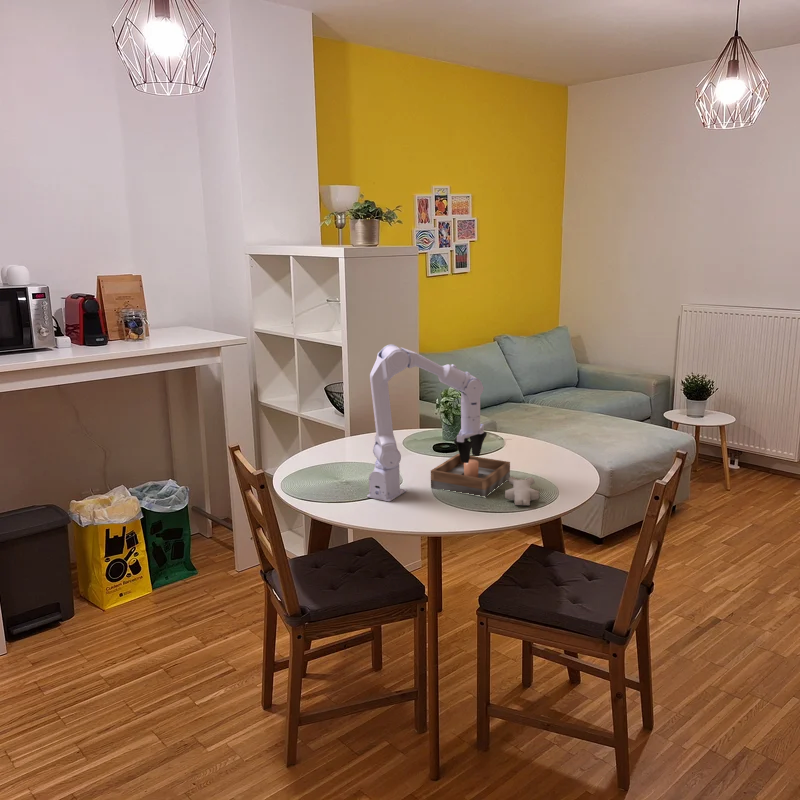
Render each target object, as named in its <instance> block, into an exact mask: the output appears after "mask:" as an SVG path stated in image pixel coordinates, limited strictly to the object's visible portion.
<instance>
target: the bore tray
mask: <svg viewBox="0 0 800 800" xmlns="http://www.w3.org/2000/svg"><path fill="white" fill-rule="evenodd" d="M470 459H473V460H477V461H478V478H477V477H472V476H466V475H464V463H463V462H461V458H460V454H459V453H457V454H455V455H453V456H451V457H450V458H449V459H446V460H445V461H444V462H442V463H441V464H439V465H437V466H436V467H434V468H432V469H431V470H430V489H434V490H439V489H444V490H443V491H445V490H450V491H456V492H462V493H469V494H474V495H480V496H485V497H486V496H487V495H488V494H489V493H490V492H492V491H493V490H494V489H496V488H497V487H498V486H500V485H501V484H502V483H504V482H505V481H506V480H508V479H509V477H511V461H508V460H507V461H506V460H501V459H493V458H487V457H480V456H476V455H470ZM505 483H506V482H505ZM505 483H504V484H505ZM501 486H502V485H501ZM501 486H500V487H501ZM496 490H497V489H496ZM450 491H449V492H450ZM487 497H488V496H487ZM487 497H486V498H487Z"/></svg>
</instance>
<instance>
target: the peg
mask: <svg viewBox="0 0 800 800" xmlns="http://www.w3.org/2000/svg"><path fill="white" fill-rule="evenodd" d="M464 475H466V476H472V477H477V478H478V461H477V460H473V459H469V463H464Z"/></svg>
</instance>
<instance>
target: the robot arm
mask: <svg viewBox="0 0 800 800" xmlns="http://www.w3.org/2000/svg"><path fill="white" fill-rule="evenodd" d="M457 367H458V366H457V365H455V364H453V363H451V364H448V363H447V364H445V365H440V364H439V363H437V362H435V361H433V360H431V359H429V358H427V357H425V356H423V355H421V354H419V353H418V352H416V351H413V350H410V349H407V348H405V347H399V346H398V345H396V344H393V343H390V344H387V345H385V346H384V347H382V348H381V350H380V351H378V352H377V356H376V360H375V362H374V364H373V365H372V369H371V371H370V373H369V381H370V389H371V390H370V391H371V398H372V407H373V416H374V424H375V436H374V444H373V446H372V447H373V449H372V453H373V456H374V457H375V458H376V459H375V462H374V469H373V470H372V472H370V474H369V477H368V484H369V485H368V486H369V491H368V492H369V493H368V494H367V496H366V497H367V498H371V499H375V500H380V501H385V502H391V501H393V500H394V499H396V498H398V497H399V496H401V495H402V494H404V493H405V492H407V490H406V489H405V488H401V477H400V471H401V470H400V463H401V460H402V455H401V452H400V451H399V449H398V445H397V441H396V438H395V436H394V435H395V434H394V429H393V428H394V427H393V417H392V409H391V401H390V400H391V399H390V389H389V381H390V380H391V379H392V378H393V377H394V376H396V375H397V374H399V373H401V372H402V371H405V369H406V368H409V369H412V368H419V369H422V370H424V371H425V372H429V373H431V374H433V375H435V376H437V378H438V381H439V382H440V383H441V384H444V385H446V386H448V387H449V388H452V389H455V390H456V391H460V395H461V396H460V417H461V418H460V429H459V432H458V434H457V435H456V438H455V439H454V440H453V441H454V443H453V444H454V445H455V447H456V448H457V451H458V454H460V458H461V462H463V463H469V459H470V456H471V453H472V456H475V457H480V455H481V451H482V447H483V443H484V441H485V439H486V437H487V436H488V435H487V432H486V431H484V430H485V428H484V427H485V424H484V423H481V395H482V394H483V393H484V388H485V387H484V386H483V382H482V380H480V379H479V378H477V377H475V376H474V375H472V374H471V373H470V372H469V371H463V370H462V369H459V368H457ZM469 440H470V441H469Z"/></svg>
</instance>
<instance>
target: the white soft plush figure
mask: <svg viewBox="0 0 800 800" xmlns="http://www.w3.org/2000/svg"><path fill="white" fill-rule="evenodd" d="M507 483H508V484H510V485H512V488H511V487H510V488H509V489H505V490H504V497H505V499H507V500H511V501H513V502H514V503H515V504H514V506H530V505H531V501H535V500H536V501H537V500H539V498H540V491H539V490H537V489H533V488H531V486H532V485H533V484H535V479H534V477H532V476H529V477H526V478H525V479H517V477H515V476H510V477H509V479H508V481H507Z"/></svg>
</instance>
